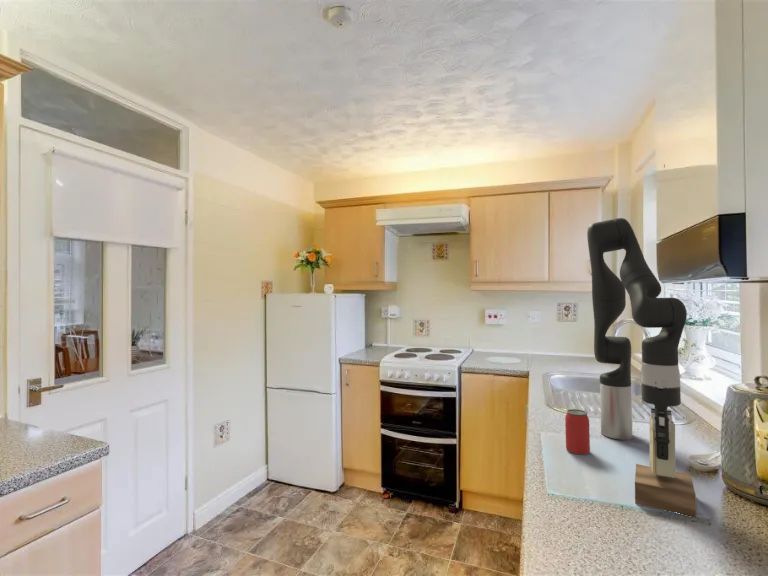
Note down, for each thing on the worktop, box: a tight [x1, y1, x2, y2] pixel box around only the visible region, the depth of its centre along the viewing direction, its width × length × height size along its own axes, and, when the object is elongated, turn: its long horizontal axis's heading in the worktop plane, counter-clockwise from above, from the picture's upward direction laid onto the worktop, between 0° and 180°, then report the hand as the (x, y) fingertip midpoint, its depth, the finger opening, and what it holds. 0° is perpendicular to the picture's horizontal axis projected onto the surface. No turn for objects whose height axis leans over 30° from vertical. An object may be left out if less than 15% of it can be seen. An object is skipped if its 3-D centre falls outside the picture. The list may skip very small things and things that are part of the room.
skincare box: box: [649, 414, 676, 478], centre depth 92 cm, size 6×4×12 cm
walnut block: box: [634, 463, 697, 519], centre depth 92 cm, size 11×11×5 cm
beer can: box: [564, 408, 591, 456], centre depth 120 cm, size 7×7×12 cm
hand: (662, 453), depth 92 cm, fingers closed on skincare box, 6 cm apart
